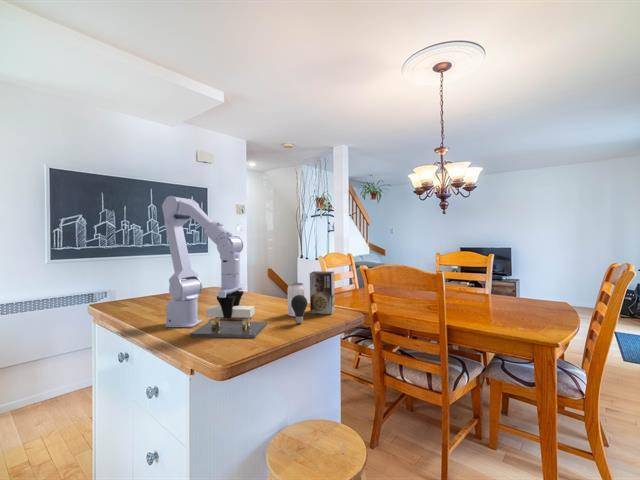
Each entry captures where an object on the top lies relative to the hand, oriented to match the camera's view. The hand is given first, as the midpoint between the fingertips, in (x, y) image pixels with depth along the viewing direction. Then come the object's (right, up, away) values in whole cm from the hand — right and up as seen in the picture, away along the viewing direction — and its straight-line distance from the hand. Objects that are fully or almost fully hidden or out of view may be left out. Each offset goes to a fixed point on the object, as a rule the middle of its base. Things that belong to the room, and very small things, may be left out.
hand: (230, 315), depth 98 cm
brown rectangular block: (-3, -5, +14) cm, 15 cm away
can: (+19, -5, +20) cm, 28 cm away
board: (0, 0, 0) cm, 0 cm away
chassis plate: (0, -5, 0) cm, 5 cm away
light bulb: (+22, -5, +7) cm, 23 cm away
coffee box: (+30, -5, +24) cm, 39 cm away
